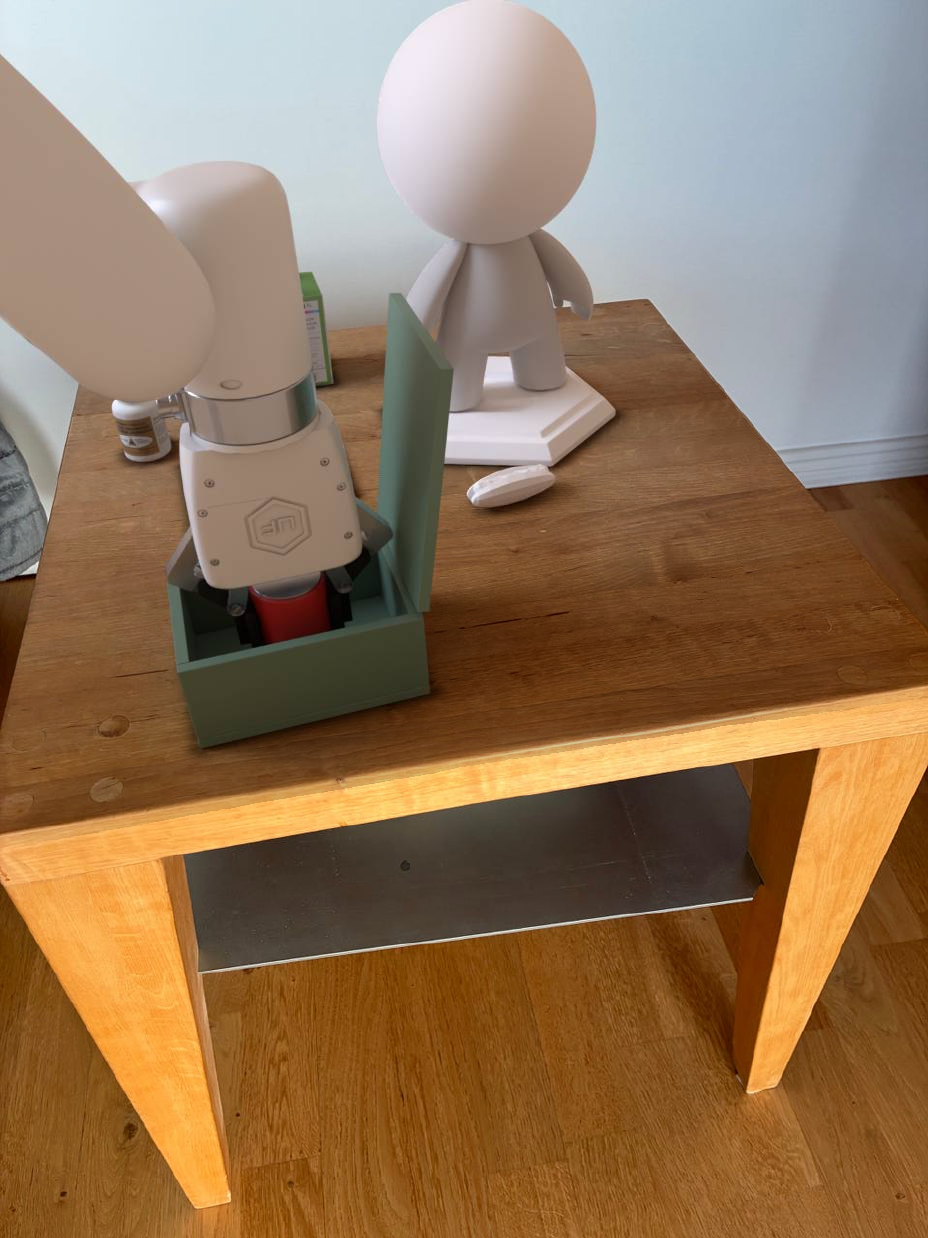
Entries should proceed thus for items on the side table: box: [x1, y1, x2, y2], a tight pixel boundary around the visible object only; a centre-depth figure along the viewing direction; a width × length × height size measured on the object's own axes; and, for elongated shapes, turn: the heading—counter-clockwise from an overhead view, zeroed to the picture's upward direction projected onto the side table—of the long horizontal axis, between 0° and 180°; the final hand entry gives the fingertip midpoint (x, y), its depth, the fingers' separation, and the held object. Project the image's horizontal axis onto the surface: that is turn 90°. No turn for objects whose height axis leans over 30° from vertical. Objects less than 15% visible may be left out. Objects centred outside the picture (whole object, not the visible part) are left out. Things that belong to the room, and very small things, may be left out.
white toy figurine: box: [376, 0, 616, 468], centre depth 86 cm, size 20×23×35 cm
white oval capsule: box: [466, 464, 557, 509], centre depth 84 cm, size 3×8×3 cm, turn 115°
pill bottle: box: [111, 399, 172, 463], centre depth 91 cm, size 4×4×8 cm
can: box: [249, 571, 333, 646], centre depth 66 cm, size 5×5×7 cm
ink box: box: [299, 271, 335, 387], centre depth 101 cm, size 7×4×13 cm, turn 15°
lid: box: [376, 292, 454, 613], centre depth 61 cm, size 16×12×1 cm
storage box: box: [164, 530, 431, 749], centre depth 67 cm, size 16×12×7 cm
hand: (297, 635), depth 67 cm, fingers closed on can, 5 cm apart
